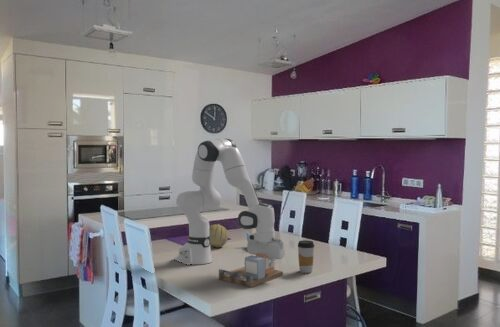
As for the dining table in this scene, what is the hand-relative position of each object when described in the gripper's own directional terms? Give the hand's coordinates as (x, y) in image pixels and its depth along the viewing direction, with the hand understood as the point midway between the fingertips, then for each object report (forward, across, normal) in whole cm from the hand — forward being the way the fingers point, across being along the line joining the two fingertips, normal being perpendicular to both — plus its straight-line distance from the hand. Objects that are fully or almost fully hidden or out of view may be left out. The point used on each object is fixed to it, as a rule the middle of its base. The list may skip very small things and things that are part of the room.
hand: (265, 265), depth 204 cm
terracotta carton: (+3, 0, 0) cm, 3 cm away
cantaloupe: (+5, +63, -31) cm, 70 cm away
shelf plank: (+5, +4, +6) cm, 9 cm away
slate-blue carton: (+3, -1, +10) cm, 11 cm away
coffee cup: (+5, -11, -19) cm, 23 cm away
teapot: (+5, +40, -45) cm, 60 cm away
